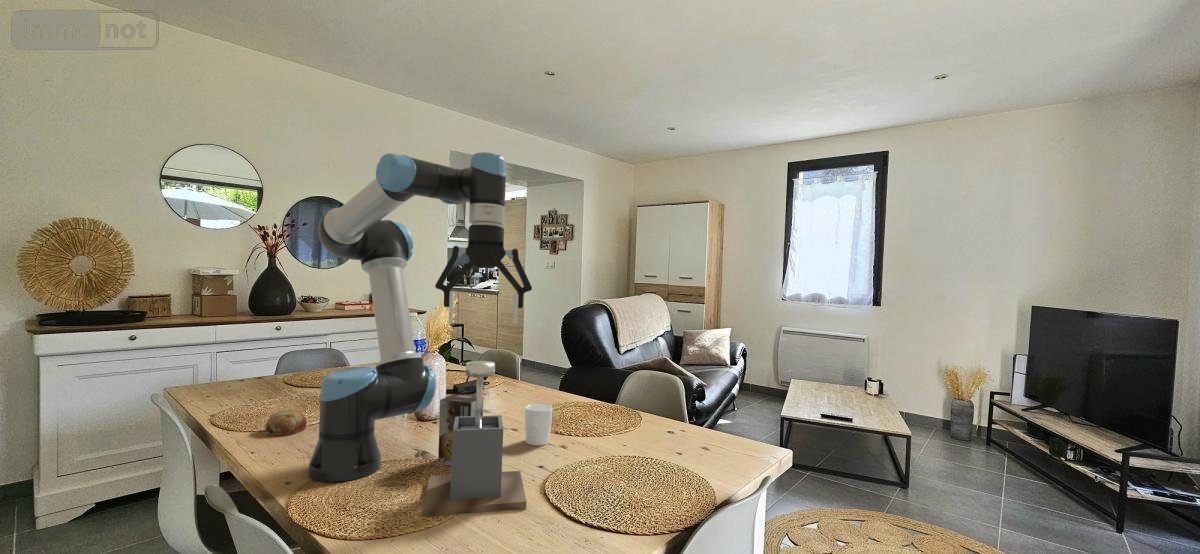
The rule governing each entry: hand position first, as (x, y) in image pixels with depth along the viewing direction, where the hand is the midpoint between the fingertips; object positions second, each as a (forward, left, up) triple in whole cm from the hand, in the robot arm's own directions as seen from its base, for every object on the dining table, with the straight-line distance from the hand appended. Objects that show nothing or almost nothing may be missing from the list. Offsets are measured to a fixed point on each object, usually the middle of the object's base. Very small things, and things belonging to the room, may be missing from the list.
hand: (483, 323), depth 103 cm
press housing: (0, -1, -35) cm, 35 cm away
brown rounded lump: (-54, +51, -37) cm, 83 cm away
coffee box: (-4, +19, -37) cm, 42 cm away
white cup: (+17, +31, -37) cm, 51 cm away
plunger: (0, -1, -24) cm, 24 cm away
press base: (0, -1, -37) cm, 37 cm away
